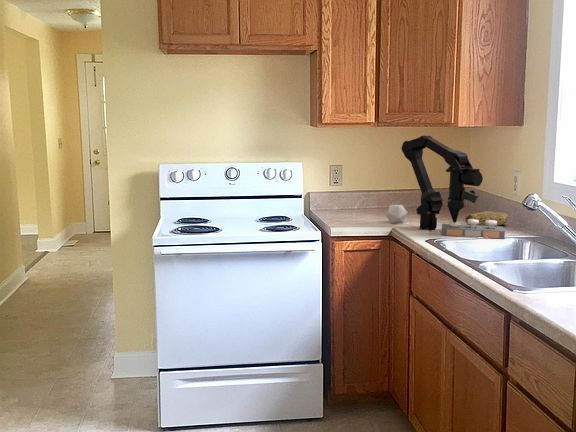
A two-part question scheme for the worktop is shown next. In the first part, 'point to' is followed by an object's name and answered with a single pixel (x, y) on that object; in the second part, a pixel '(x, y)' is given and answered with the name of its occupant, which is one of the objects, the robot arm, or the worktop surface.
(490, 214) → the sponge
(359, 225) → the worktop surface
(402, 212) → the die
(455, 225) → the button left
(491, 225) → the button right
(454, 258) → the worktop surface
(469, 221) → the button middle
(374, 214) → the worktop surface
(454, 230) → the board
